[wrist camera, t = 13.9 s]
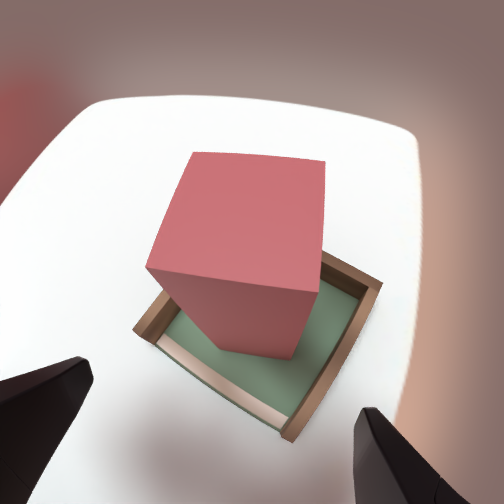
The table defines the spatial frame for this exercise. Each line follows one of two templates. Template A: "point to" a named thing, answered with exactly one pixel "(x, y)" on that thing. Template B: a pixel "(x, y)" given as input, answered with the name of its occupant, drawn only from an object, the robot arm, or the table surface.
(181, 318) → the box
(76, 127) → the table surface
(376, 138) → the table surface
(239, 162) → the post
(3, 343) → the table surface
